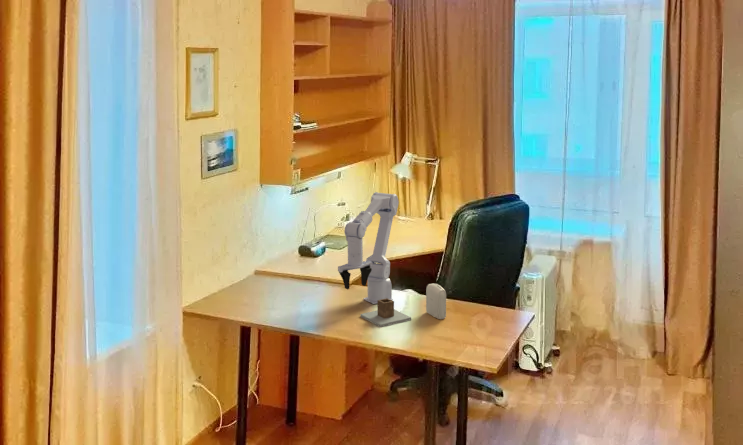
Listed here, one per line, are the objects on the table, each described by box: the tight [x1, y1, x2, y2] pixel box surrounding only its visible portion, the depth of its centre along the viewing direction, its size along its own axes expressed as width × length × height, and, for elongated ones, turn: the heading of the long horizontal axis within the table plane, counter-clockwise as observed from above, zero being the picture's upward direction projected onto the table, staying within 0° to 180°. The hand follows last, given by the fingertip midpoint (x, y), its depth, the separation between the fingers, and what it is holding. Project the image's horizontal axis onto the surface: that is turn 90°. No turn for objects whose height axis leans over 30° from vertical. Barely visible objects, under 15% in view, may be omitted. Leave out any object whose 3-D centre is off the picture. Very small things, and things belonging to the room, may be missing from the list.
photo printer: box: [425, 283, 447, 320], centre depth 324 cm, size 10×4×12 cm, turn 26°
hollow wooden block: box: [377, 298, 395, 318], centre depth 321 cm, size 4×4×6 cm
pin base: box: [359, 308, 412, 328], centre depth 321 cm, size 14×14×5 cm
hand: (355, 287), depth 326 cm, fingers open, 7 cm apart
